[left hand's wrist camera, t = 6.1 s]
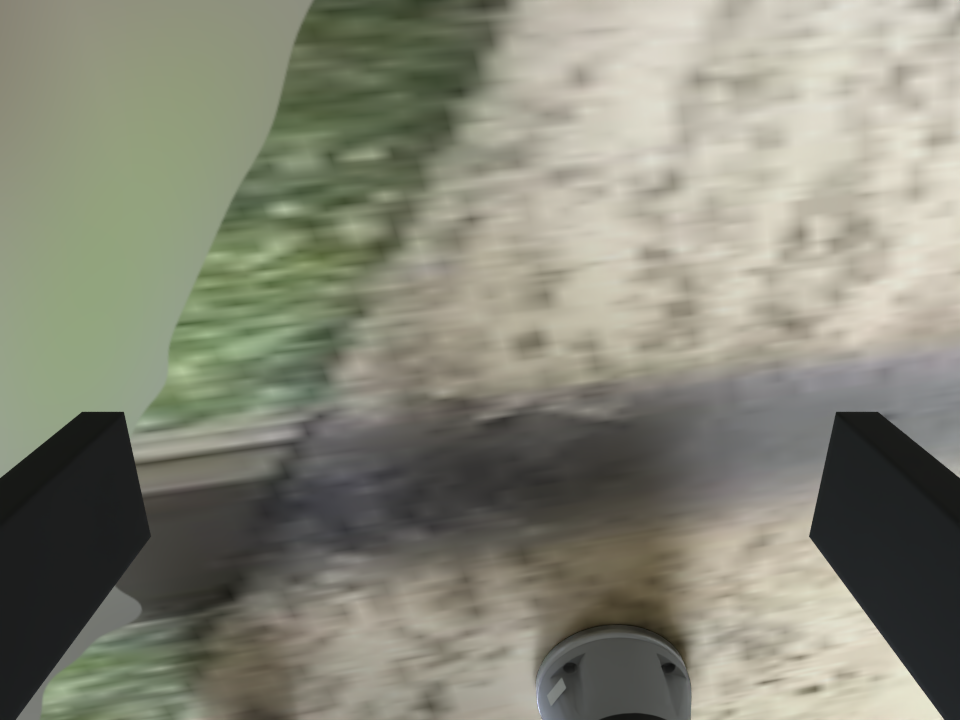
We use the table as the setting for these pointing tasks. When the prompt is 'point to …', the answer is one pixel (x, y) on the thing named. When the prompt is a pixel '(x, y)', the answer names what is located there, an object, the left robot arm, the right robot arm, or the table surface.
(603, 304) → the table surface
